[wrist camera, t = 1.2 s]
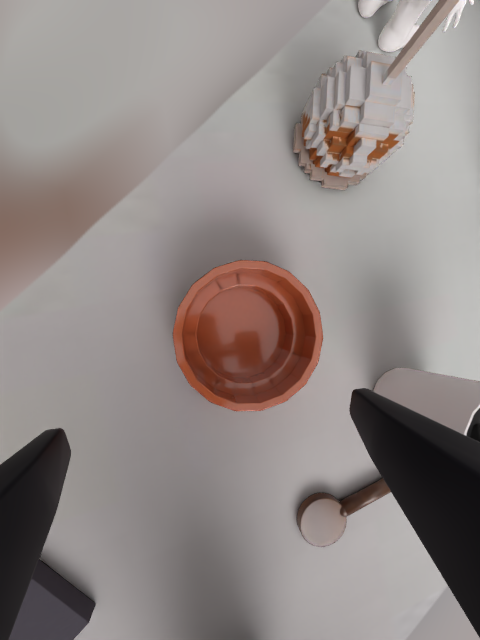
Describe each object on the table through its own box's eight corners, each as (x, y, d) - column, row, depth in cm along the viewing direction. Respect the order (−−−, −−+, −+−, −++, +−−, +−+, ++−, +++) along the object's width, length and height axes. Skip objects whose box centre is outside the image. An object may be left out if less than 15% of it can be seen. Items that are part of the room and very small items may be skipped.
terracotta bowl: (274, 410, 26) (292, 431, 21) (159, 368, 25) (148, 380, 20) (317, 299, 27) (343, 295, 22) (205, 251, 25) (207, 235, 20)
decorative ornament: (289, 186, 26) (407, 12, 11) (294, 100, 26) (418, -187, 11) (369, 196, 27) (573, 49, 12) (373, 113, 27) (583, -134, 12)
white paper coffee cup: (423, 437, 28) (544, 502, 18) (360, 425, 27) (452, 486, 17) (437, 370, 28) (565, 399, 18) (376, 356, 27) (476, 378, 17)
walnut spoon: (398, 448, 28) (407, 453, 27) (414, 488, 28) (424, 496, 27) (289, 506, 26) (293, 515, 25) (307, 548, 27) (312, 559, 25)
